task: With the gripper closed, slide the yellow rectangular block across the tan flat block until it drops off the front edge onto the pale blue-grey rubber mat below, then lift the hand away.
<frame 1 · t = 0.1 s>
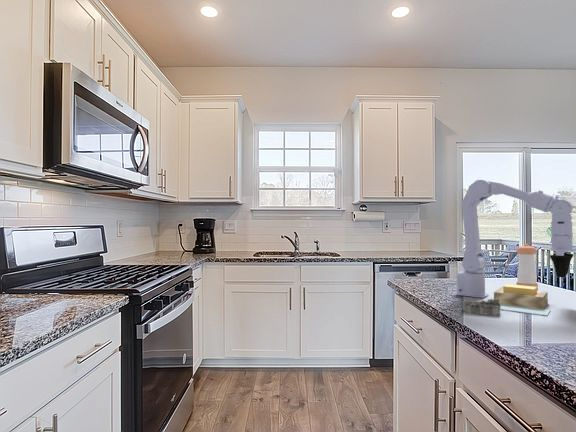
hand: (562, 275, 124), 10 cm above the worktop, tool pointing down, fingers open, 7 cm apart
egg carton: (481, 313, 116), on the worktop
salt shaker: (527, 291, 149), on the worktop
mat: (515, 309, 119), on the worktop
tan flat block: (520, 303, 127), on the worktop
yellow rectangular block: (520, 292, 127), point 4 cm above the worktop, touching tan flat block
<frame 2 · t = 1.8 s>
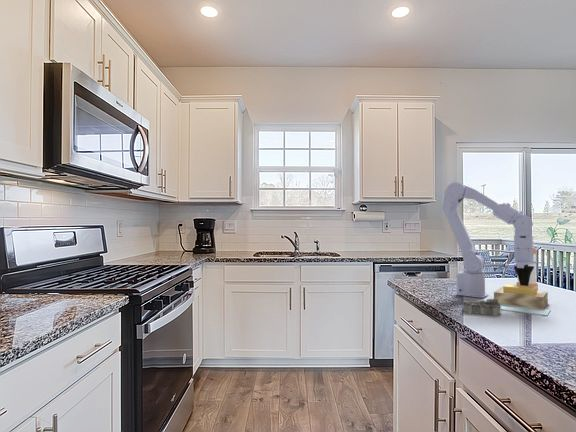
hand: (524, 286, 133), 5 cm above the worktop, tool pointing down, fingers closed
nothing on the worktop moved.
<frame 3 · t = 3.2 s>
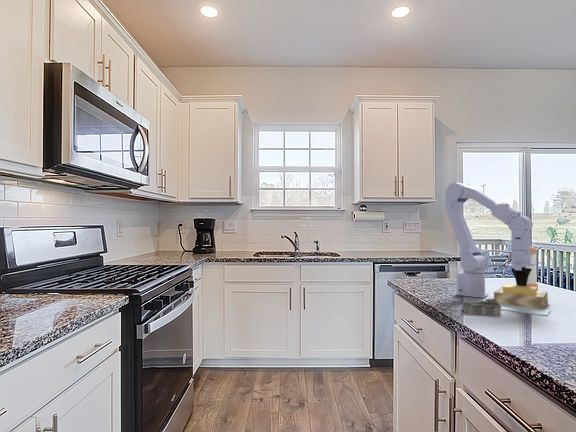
hand: (521, 289, 129), 5 cm above the worktop, tool pointing down, fingers closed
yellow rectangular block: (519, 292, 126), point 4 cm above the worktop, touching tan flat block, gripper
everything else where it was.
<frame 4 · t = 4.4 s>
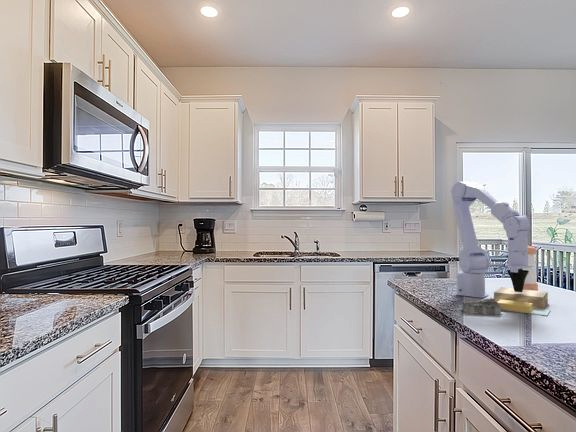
hand: (518, 291, 124), 5 cm above the worktop, tool pointing down, fingers closed
yellow rectangular block: (514, 302, 118), point 2 cm above the worktop, tilted 180°, touching mat
everything else where it was.
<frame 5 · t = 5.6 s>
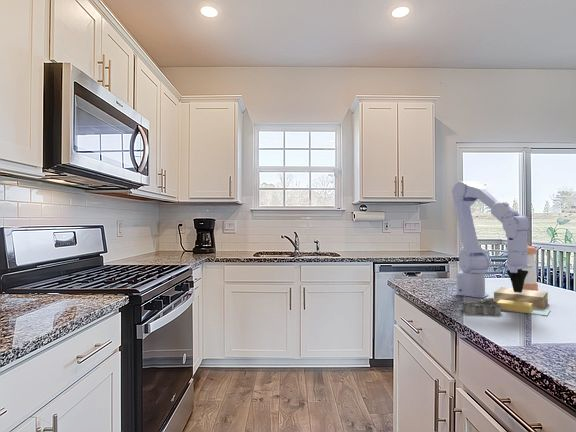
hand: (517, 292, 124), 5 cm above the worktop, tool pointing down, fingers closed
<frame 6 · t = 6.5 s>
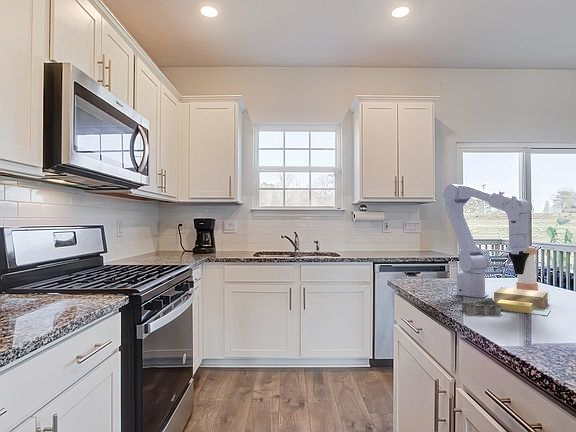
hand: (519, 274, 126), 10 cm above the worktop, tool pointing down, fingers closed
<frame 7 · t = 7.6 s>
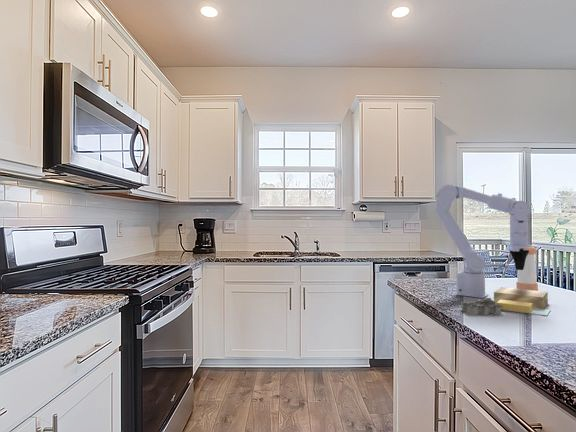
hand: (519, 269, 137), 10 cm above the worktop, tool pointing down, fingers closed
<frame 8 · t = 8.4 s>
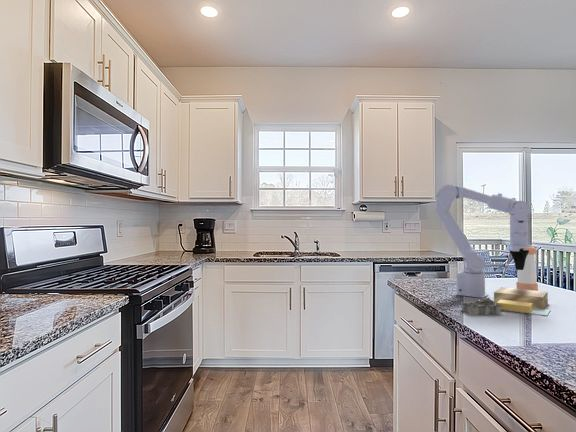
hand: (519, 269, 137), 10 cm above the worktop, tool pointing down, fingers closed
at the end: yellow rectangular block point 2.3 cm above the worktop; yellow rectangular block inside the target area on the mat (1.6 cm from its centre), point 2.3 cm above the mat's base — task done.
